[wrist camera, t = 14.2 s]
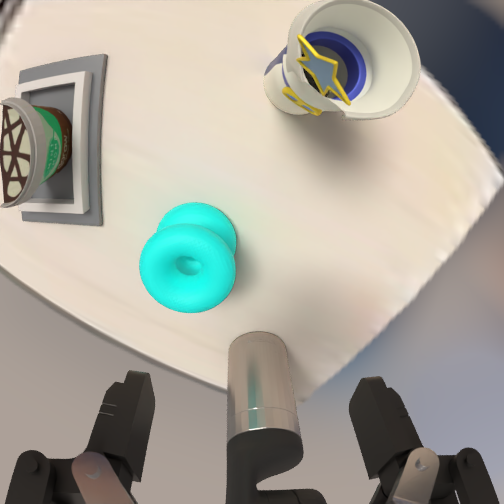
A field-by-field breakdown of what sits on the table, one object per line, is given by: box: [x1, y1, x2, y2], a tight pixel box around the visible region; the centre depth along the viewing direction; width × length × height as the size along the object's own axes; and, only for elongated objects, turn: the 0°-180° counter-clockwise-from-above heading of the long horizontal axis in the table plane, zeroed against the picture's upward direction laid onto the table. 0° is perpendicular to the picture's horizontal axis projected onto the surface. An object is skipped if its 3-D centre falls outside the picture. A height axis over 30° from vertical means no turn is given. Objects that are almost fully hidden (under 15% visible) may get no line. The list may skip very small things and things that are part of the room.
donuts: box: [139, 203, 236, 313], centre depth 33 cm, size 10×10×10 cm
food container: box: [0, 97, 73, 208], centre depth 26 cm, size 12×6×10 cm, turn 171°
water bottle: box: [264, 0, 421, 120], centre depth 19 cm, size 8×9×25 cm
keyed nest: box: [15, 54, 107, 226], centre depth 30 cm, size 22×14×3 cm, turn 174°
